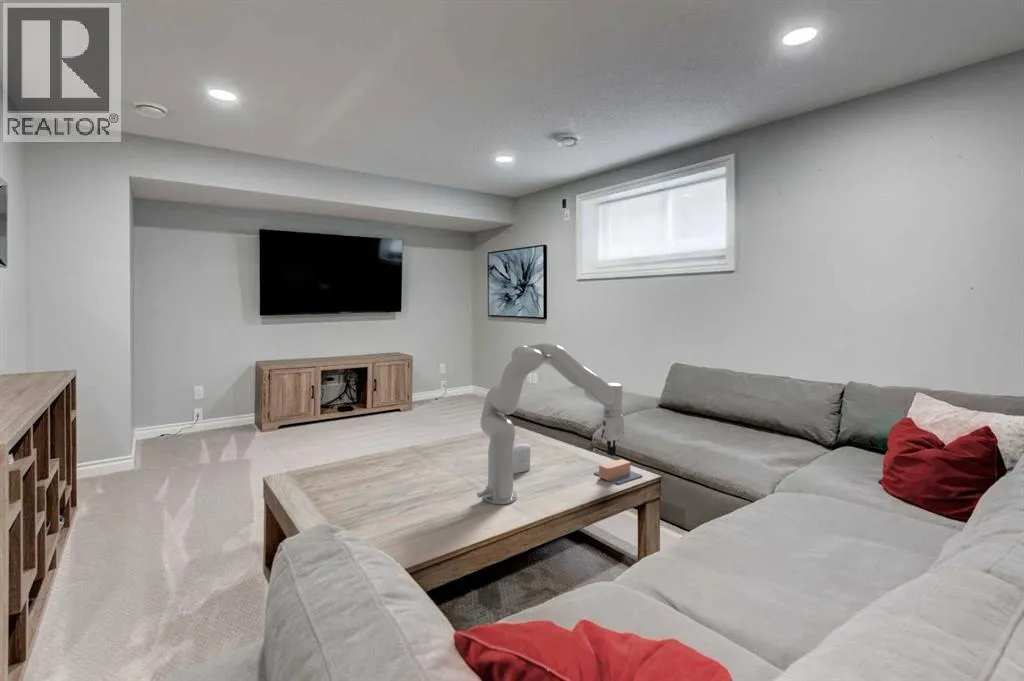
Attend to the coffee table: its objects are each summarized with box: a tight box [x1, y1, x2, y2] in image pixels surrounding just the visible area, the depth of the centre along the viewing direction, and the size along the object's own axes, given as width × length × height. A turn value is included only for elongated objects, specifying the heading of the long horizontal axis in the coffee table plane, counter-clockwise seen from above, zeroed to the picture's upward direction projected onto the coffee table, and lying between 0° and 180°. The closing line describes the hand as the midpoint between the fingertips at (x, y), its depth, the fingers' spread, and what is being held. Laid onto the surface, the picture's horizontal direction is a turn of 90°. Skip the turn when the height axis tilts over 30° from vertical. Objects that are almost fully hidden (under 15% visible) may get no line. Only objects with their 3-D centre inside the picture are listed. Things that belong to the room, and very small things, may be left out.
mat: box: [593, 470, 643, 485], centre depth 207 cm, size 15×14×1 cm
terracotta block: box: [598, 458, 632, 481], centre depth 205 cm, size 5×5×14 cm
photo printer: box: [513, 442, 531, 475], centre depth 210 cm, size 10×4×12 cm, turn 123°
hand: (611, 454), depth 203 cm, fingers closed
